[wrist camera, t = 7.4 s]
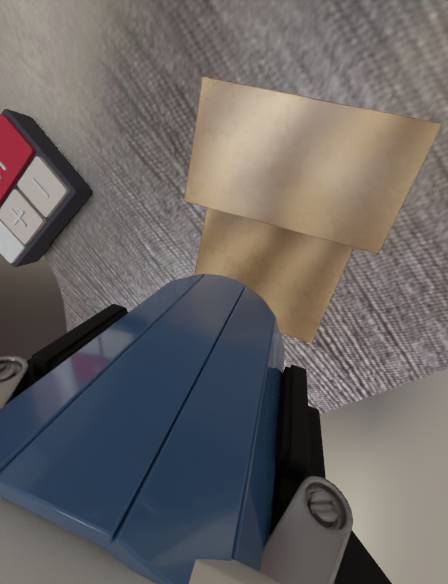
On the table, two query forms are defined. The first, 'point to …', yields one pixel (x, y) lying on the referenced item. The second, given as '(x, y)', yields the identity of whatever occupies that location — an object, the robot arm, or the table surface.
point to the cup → (158, 432)
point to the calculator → (33, 190)
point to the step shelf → (296, 191)
